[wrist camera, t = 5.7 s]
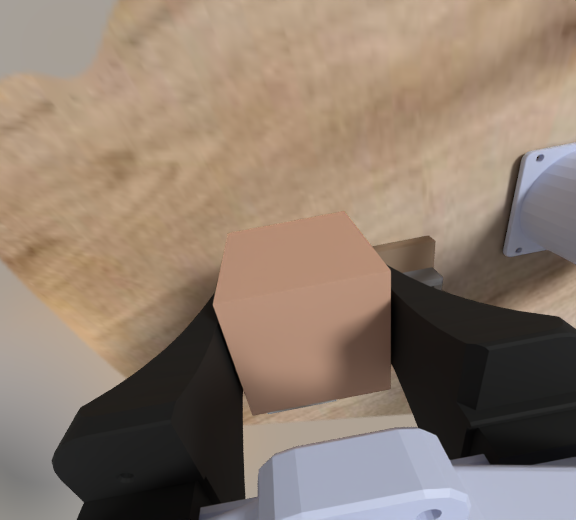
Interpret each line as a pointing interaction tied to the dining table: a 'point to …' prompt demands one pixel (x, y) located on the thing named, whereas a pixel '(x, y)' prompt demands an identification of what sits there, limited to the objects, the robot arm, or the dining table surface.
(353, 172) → the dining table surface
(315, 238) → the terracotta block
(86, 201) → the dining table surface
